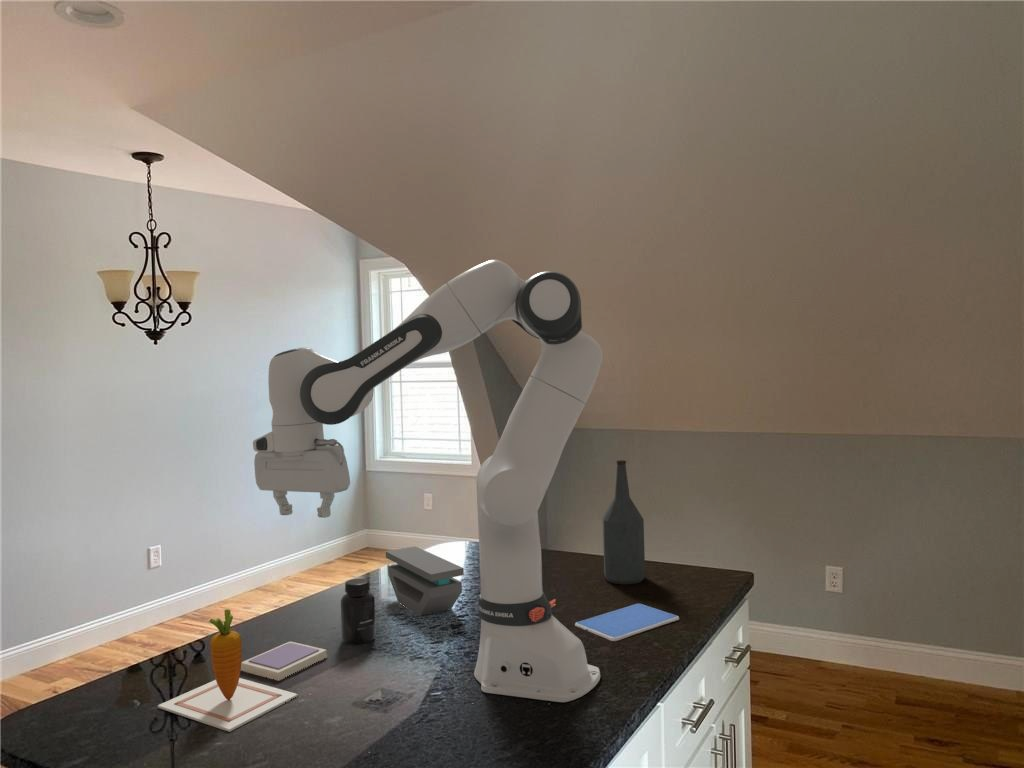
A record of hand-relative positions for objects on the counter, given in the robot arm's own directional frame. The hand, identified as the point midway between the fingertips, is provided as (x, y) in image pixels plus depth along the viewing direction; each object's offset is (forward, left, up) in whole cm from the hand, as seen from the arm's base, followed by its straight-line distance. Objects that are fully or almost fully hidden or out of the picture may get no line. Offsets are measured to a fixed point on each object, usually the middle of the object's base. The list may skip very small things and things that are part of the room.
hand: (305, 515), depth 139 cm
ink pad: (+9, -2, -29) cm, 31 cm away
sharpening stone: (+6, -41, -30) cm, 51 cm away
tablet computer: (-40, -51, -30) cm, 71 cm away
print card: (+5, +14, -29) cm, 33 cm away
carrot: (+5, +14, -29) cm, 33 cm away
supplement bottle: (+5, -18, -30) cm, 35 cm away
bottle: (-27, -80, -30) cm, 89 cm away
